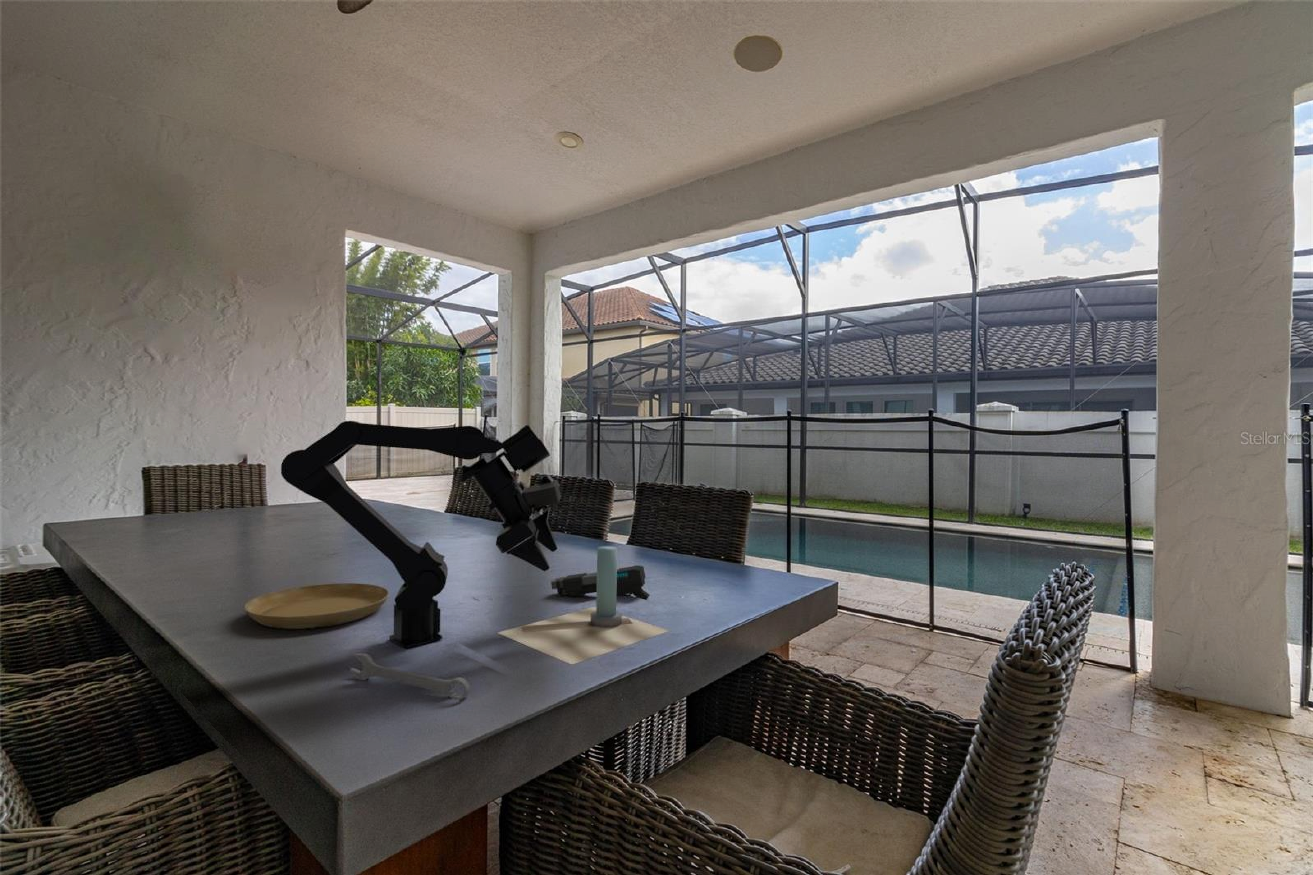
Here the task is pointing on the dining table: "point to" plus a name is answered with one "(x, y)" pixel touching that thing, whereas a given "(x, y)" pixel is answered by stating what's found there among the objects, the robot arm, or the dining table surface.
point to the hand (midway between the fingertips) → (551, 559)
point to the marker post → (606, 589)
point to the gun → (587, 583)
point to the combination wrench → (407, 677)
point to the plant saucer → (316, 605)
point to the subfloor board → (580, 636)
